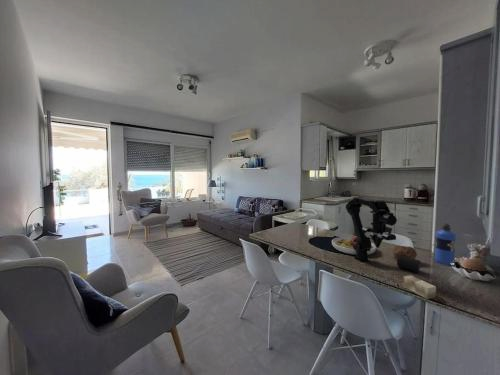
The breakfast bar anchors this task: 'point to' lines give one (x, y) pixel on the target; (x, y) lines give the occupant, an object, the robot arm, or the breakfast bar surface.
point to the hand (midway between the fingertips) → (377, 247)
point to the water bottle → (445, 245)
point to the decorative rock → (404, 252)
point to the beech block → (419, 286)
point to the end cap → (409, 264)
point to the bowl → (349, 245)
